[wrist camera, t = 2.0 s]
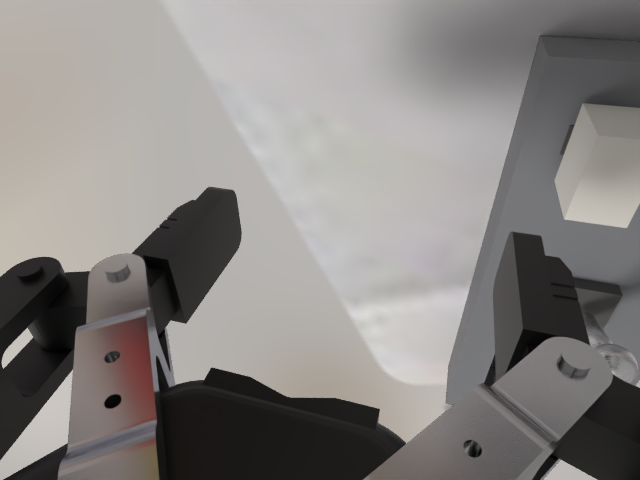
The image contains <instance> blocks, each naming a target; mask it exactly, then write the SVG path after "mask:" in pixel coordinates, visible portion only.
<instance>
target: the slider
mask: <svg viewBox="0 0 640 480" xmlns="http://www.w3.org/2000/svg"><path fill="white" fill-rule="evenodd" d="M554 181H555V185H556V189H557V193H558V197H559V201H560V205H561V209H562V213H563V217H564V220H572V221H579V222H586V223H593V224H600V225H607V226H614V227H621V228H627V227H628V225H629V223H630V221H631V219H632V217H633V215H634V214H635V212H636V210H637V208H638V206H639V204H640V108H634V107H622V106H610V105H599V104H587V103H583V104H582V106H581V109H580V112H579V115H578V117H577V120H576V123H575V126H574V128H573V131H572V134H571V136H570V139H569V142H568V145H567V147H566V150H565V153H564V156H563V158H562V161H561V164H560V167H559V169H558V172H557V175H556V178H555V180H554Z"/></svg>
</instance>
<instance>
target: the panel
mask: <svg viewBox="0 0 640 480" xmlns="http://www.w3.org/2000/svg"><path fill="white" fill-rule="evenodd" d="M583 103H587V104H599V105H610V106H622V107H634V108H640V41H627V40H609V39H591V38H573V37H555V36H540V38H539V42H538V45H537V49H536V52H535V56H534V60H533V63H532V67H531V70H530V74H529V78H528V81H527V85H526V88H525V92H524V96H523V99H522V103H521V106H520V110H519V114H518V117H517V121H516V124H515V128H514V132H513V135H512V139H511V143H510V146H509V150H508V153H507V157H506V161H505V164H504V168H503V171H502V175H501V179H500V182H499V186H498V189H497V193H496V197H495V200H494V204H493V207H492V211H491V215H490V218H489V222H488V225H487V229H486V233H485V236H484V240H483V243H482V247H481V251H480V254H479V258H478V261H477V265H476V269H475V272H474V276H473V279H472V283H471V287H470V290H469V294H468V297H467V301H466V305H465V308H464V312H463V315H462V319H461V323H460V326H459V330H458V333H457V337H456V341H455V344H454V348H453V351H452V355H451V359H450V362H449V366H448V378H447V392H446V404H451V405H454V404H455V403H456V402H457V401H459V400H460V399H461V398H462V397H463V396H465V395H466V394H467V393H468V392H469V391H471V390H472V389H473V388H474V387H476V386H477V385H479V384H481V383H485V384H486V385H488V386H489V387H490V386H492V385H493V384H494V383H493V369H491V368H490V366H491V363H492V360H493V358H494V355H495V337H494V312H493V288H494V282H495V277H496V273H497V270H498V267H499V264H500V260H501V257H502V254H503V251H504V247H505V244H506V241H507V238H508V235H509V233H510V232H511V231H512V232H519V233H526V234H533V235H540V236H541V237H542V241H543V246H544V251H545V255H546V256H553V257H559V258H560V259H561V260H562V261H563V262H564V264H565V265H566V266H567V267H568V268H569V269H570V271H571V272H572V276H573V280H574V283H575V289H576V291H577V295H578V302H579V303H580V307H581V311H582V312H589V313H591V314H593V315H594V317H595V318H596V320H597V321H598V323H599V324H600V325H601V327H602V328H603V330H604V331H605V333H606V334H607V336H608V337H609V339H610V340H611V342H612V343H613V344H616V345H619V346H622V347H624V348H626V349H627V350H628V351H630V352H631V353H632V355H633V356H634V357H635V359H636V361H637V364H638V373H637V376H636V378H635V379H634V380H633V381H632V382H631V383H630V384H632V385H634V386H635V385H636V384H637V382H638V381H639V380H640V204H639V206H638V208H637V210H636V212H635V214H634V215H633V217H632V219H631V221H630V223H629V225H628V227H627V228H621V227H614V226H607V225H600V224H593V223H586V222H579V221H572V220H564V217H563V213H562V209H561V205H560V201H559V197H558V193H557V189H556V185H555V181H554V180H555V178H556V175H557V172H558V169H559V167H560V164H561V161H562V158H563V156H564V153H565V150H566V147H567V145H568V142H569V139H570V136H571V134H572V131H573V128H574V126H575V123H576V120H577V117H578V115H579V112H580V109H581V106H582V104H583Z"/></svg>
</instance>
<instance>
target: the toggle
mask: <svg viewBox="0 0 640 480" xmlns="http://www.w3.org/2000/svg"><path fill="white" fill-rule="evenodd" d="M582 315H583V319H584V322H585V326H586V330H587V334H588V338H589V342H590V346H591V347H593V348H594V349H596V350H597V351H598V352H599V353H600V354H601V355H602V356H603V357H604V358H605V359H606V360H607V362H608V363H609V365H610V367H611V369H612V373H613V374H614V375H615V376H617V377H618V378H620V379H622V380H623V381H625V382H627V383H629V384H630V383H631V382H632V381H633V380H634V379H635V378H636V376H637V373H638V364H637V361H636V359H635V357H634V356H633V355H632V353H631V352H630V351H628V350H627V349H626V348H624V347H622V346H619V345H616V344H613V343H612V342H611V340H610V339H609V337H608V336H607V334H606V333H605V331H604V330H603V328H602V327H601V325H600V324H599V323H598V321H597V320H596V318H595V317H594V315H593V314H591V313H589V312H582Z"/></svg>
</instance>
